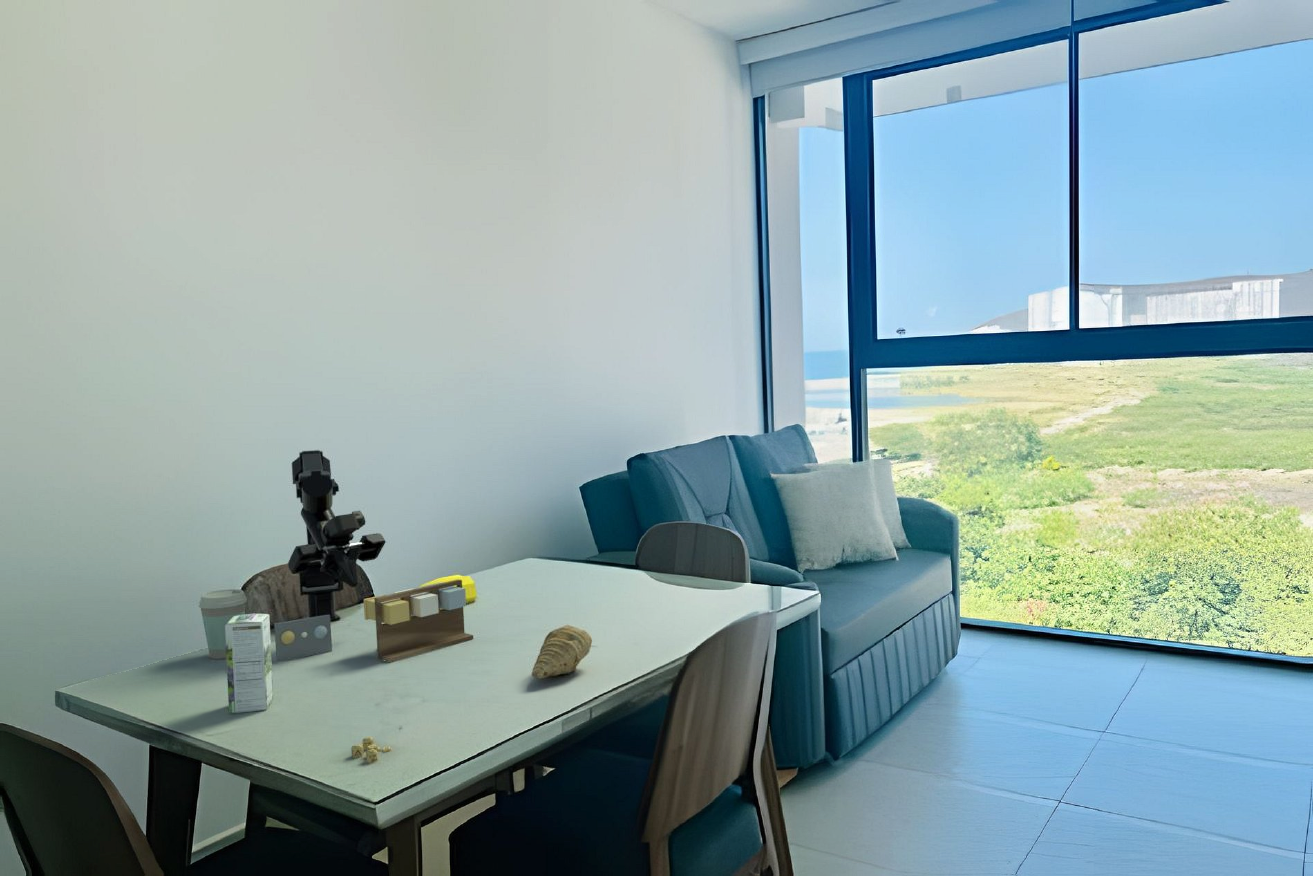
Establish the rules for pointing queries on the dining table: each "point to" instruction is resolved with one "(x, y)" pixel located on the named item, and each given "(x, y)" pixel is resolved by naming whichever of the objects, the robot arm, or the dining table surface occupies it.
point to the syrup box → (249, 663)
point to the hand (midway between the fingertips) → (355, 585)
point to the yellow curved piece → (466, 584)
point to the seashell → (562, 652)
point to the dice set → (368, 750)
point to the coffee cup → (220, 617)
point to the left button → (387, 610)
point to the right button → (451, 597)
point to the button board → (419, 627)
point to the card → (303, 637)
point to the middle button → (423, 604)
